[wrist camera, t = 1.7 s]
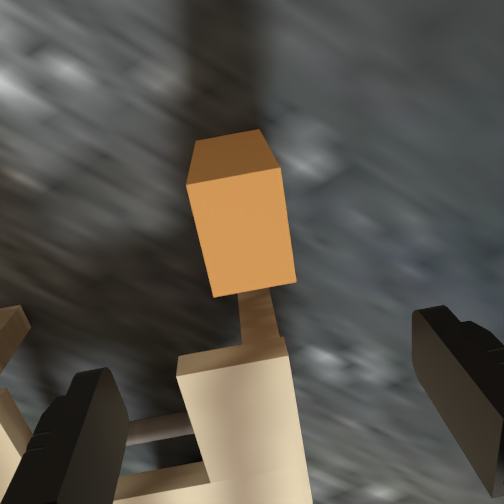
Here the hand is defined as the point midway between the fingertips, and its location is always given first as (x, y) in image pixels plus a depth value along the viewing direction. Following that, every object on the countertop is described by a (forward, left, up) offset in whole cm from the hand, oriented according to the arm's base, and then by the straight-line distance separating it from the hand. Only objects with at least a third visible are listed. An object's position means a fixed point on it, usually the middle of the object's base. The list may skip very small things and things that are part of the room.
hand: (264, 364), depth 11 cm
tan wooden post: (0, 0, -18) cm, 18 cm away
